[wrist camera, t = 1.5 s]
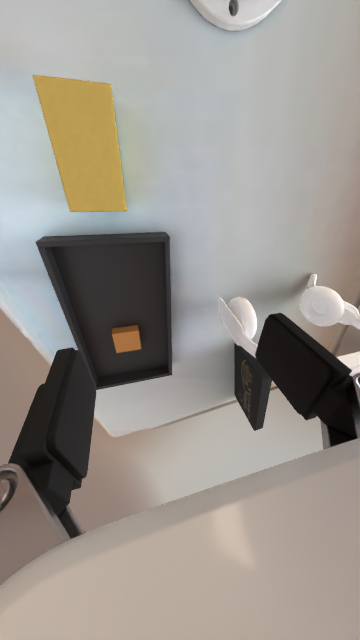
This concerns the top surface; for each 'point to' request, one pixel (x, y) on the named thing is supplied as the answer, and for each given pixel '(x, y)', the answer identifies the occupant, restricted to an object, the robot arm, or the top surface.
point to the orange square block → (126, 338)
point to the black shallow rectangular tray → (114, 300)
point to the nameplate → (251, 386)
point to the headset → (314, 306)
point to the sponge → (84, 142)
